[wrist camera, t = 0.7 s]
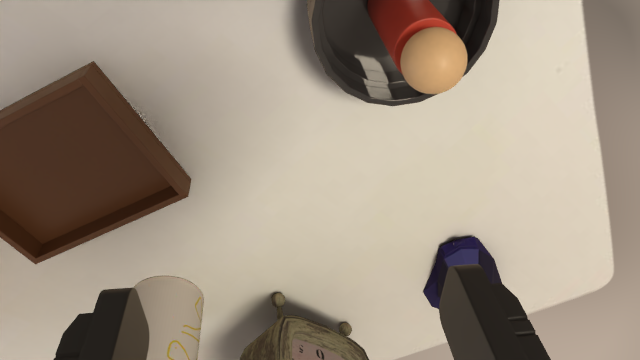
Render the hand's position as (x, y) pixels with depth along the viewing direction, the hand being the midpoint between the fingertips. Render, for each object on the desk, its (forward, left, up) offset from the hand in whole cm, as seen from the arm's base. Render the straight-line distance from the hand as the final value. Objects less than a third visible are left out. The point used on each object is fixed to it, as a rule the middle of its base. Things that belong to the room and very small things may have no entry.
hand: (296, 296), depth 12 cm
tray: (-9, -22, -28) cm, 37 cm away
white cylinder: (+5, -37, -29) cm, 47 cm away
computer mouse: (+35, -20, -29) cm, 49 cm away
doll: (+9, +3, -28) cm, 29 cm away
